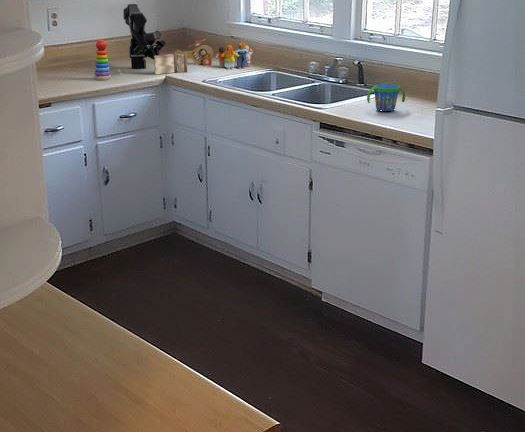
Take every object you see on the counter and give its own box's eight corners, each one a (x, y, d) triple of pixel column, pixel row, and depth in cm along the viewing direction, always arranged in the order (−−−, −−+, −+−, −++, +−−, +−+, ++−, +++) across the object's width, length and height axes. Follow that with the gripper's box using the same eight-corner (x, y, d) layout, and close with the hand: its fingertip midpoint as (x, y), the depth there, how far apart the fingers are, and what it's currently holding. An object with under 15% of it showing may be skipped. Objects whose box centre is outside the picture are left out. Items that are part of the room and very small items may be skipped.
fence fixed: (178, 72, 403) (177, 53, 400) (178, 72, 405) (177, 53, 401) (187, 72, 404) (187, 53, 401) (186, 71, 406) (186, 52, 402)
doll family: (251, 65, 426) (251, 40, 421) (259, 68, 418) (259, 42, 413) (214, 68, 417) (213, 42, 413) (221, 71, 409) (221, 45, 405)
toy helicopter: (213, 66, 422) (213, 40, 418) (173, 67, 420) (172, 40, 415) (213, 63, 430) (212, 37, 425) (173, 64, 428) (172, 38, 423)
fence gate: (176, 71, 405) (175, 53, 401) (178, 72, 403) (177, 53, 400) (154, 73, 399) (153, 55, 396) (156, 74, 397) (155, 56, 394)
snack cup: (401, 107, 337) (403, 83, 333) (407, 113, 327) (408, 88, 323) (364, 107, 336) (365, 83, 332) (368, 113, 326) (370, 88, 323)
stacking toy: (97, 81, 387) (94, 41, 380) (92, 78, 393) (89, 39, 386) (113, 79, 390) (110, 40, 383) (108, 76, 397) (105, 38, 390)
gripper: (137, 27, 387) (156, 53, 386) (162, 23, 402) (180, 48, 401) (125, 42, 394) (143, 68, 393) (150, 37, 409) (168, 62, 407)
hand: (159, 61), depth 398 cm, fingers closed
